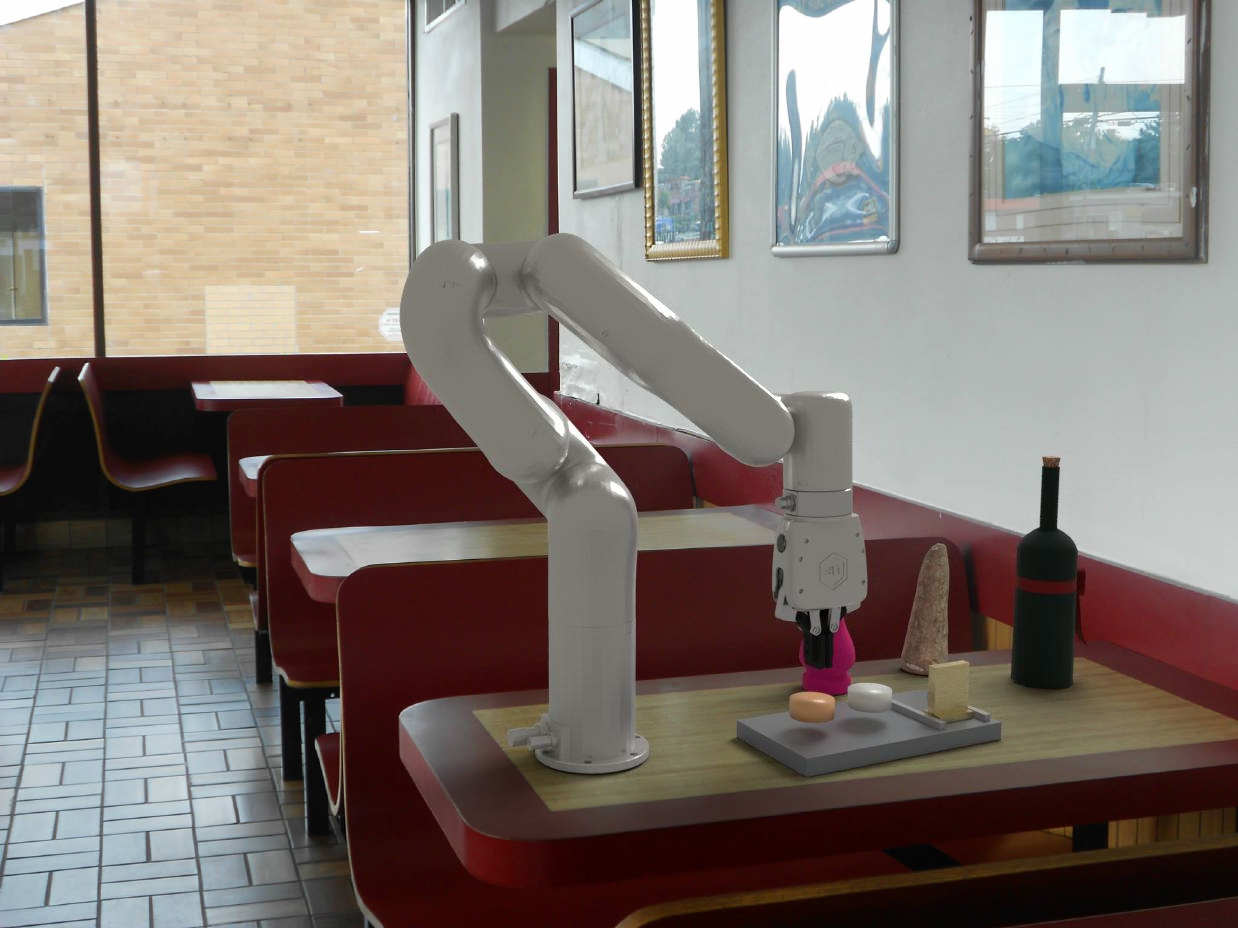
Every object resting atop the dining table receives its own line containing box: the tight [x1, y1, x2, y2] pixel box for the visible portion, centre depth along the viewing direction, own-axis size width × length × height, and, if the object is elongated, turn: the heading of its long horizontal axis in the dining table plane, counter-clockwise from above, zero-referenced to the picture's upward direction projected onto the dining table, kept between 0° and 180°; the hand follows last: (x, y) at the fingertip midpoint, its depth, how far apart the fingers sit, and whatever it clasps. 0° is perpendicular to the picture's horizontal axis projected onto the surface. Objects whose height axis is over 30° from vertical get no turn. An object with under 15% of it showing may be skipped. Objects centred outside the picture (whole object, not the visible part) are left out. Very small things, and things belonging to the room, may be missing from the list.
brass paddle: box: [922, 659, 973, 723], centre depth 146 cm, size 5×3×6 cm, turn 116°
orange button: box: [788, 691, 836, 723], centre depth 142 cm, size 5×5×2 cm
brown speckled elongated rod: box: [900, 542, 950, 676], centre depth 172 cm, size 6×18×6 cm
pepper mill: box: [798, 616, 856, 696], centre depth 164 cm, size 7×7×20 cm
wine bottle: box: [1010, 455, 1088, 690], centre depth 167 cm, size 8×10×30 cm
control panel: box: [736, 689, 1003, 778], centre depth 145 cm, size 27×14×3 cm, turn 116°
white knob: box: [846, 682, 893, 713], centre depth 145 cm, size 5×5×2 cm
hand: (818, 665), depth 141 cm, fingers closed
